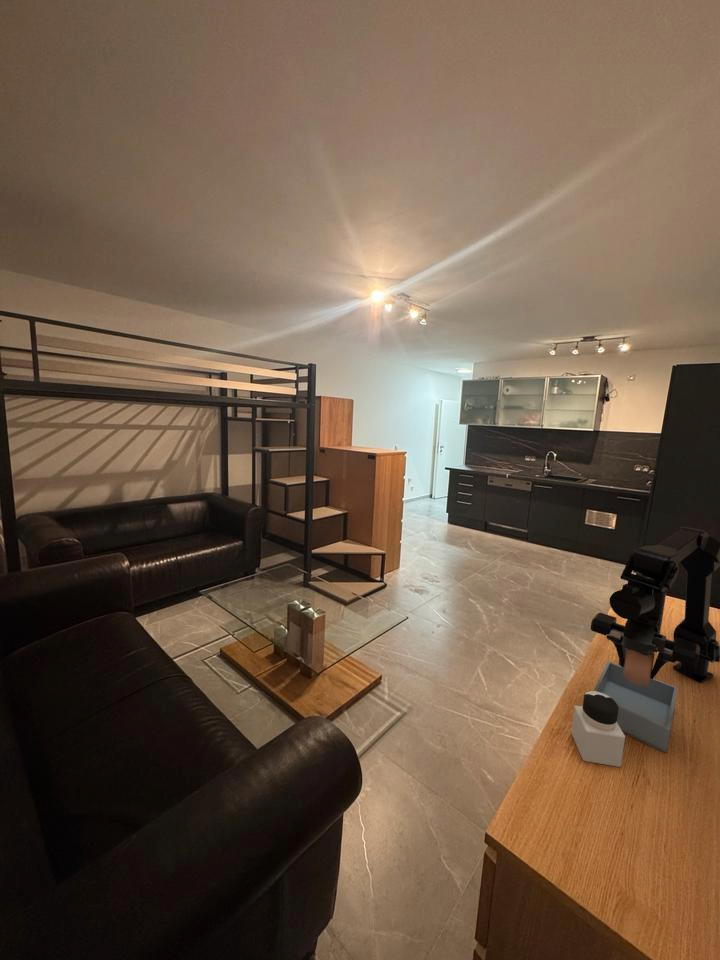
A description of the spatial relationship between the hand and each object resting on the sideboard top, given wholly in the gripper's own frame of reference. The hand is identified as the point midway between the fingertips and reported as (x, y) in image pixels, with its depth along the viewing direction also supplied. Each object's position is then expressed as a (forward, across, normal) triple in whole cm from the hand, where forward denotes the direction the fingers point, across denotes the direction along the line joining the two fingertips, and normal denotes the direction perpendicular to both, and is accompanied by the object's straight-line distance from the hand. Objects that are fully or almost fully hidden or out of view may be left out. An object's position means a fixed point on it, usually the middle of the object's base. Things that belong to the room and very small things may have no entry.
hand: (637, 672), depth 84 cm
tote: (+12, 0, +4) cm, 13 cm away
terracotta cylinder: (+2, 0, 0) cm, 2 cm away
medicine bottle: (+13, -4, -14) cm, 19 cm away
